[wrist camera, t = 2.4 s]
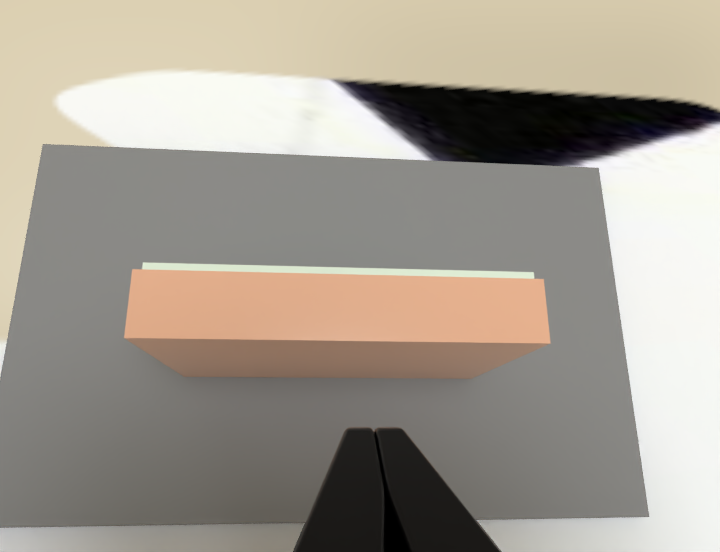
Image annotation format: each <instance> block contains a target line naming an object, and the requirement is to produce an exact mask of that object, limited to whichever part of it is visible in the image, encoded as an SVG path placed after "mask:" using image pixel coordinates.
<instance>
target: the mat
mask: <svg viewBox="0 0 720 552" xmlns="http://www.w3.org/2000/svg"><path fill="white" fill-rule="evenodd" d="M143 262H146V263H186V264H226V265H266V266H306V267H347V268H387V269H427V270H467V271H507V272H534V279H544V286H545V296H546V305H547V314H548V324H549V333H550V343H551V344H548V345H546V346H544V347H542V348H539V349H537V350H535V351H533V352H530V353H528V354H526V355H524V356H521V357H519V358H517V359H515V360H512V361H510V362H508V363H506V364H503V365H501V366H499V367H497V368H495V369H492V370H490V371H488V372H486V373H483V374H481V375H479V376H477V377H474V378H472V379H431V378H286V377H184V376H182V375H180V374H179V373H177V372H176V371H174V370H173V369H171V368H170V367H168V366H167V365H165V364H163V363H162V362H160V361H159V360H157V359H156V358H154V357H153V356H151V355H150V354H148V353H146V352H145V351H143V350H142V349H140V348H139V347H137V346H136V345H134V344H133V343H131V342H129V341H128V340H126V339H125V338H124V334H125V326H126V317H127V309H128V301H129V292H130V284H131V276H132V269H142V265H143ZM348 427H370V428H372V429H373V431H374V430H375V429H376V428H378V427H400V428H402V429H403V430H404V431H405V432H406V433H407V434H408V436H409V437H410V438H411V439H412V441H413V442H414V443H415V444H416V446H417V447H418V448H419V449H420V451H421V452H422V453H423V454H424V456H425V457H426V458H427V459H428V461H429V462H430V463H431V464H432V466H433V467H434V468H435V469H436V471H437V472H438V473H439V474H440V476H441V477H442V478H443V479H444V481H445V482H446V483H447V484H448V486H449V487H450V488H451V489H452V491H453V492H454V493H455V494H456V496H457V497H458V498H459V499H460V501H461V502H462V503H463V504H464V506H465V507H466V508H467V509H468V511H469V512H470V513H471V514H472V516H473V517H474V518H475V519H476V520H489V519H550V518H610V517H649V513H648V506H647V499H646V492H645V485H644V478H643V472H642V465H641V458H640V451H639V444H638V437H637V430H636V423H635V416H634V409H633V403H632V396H631V389H630V382H629V375H628V368H627V361H626V354H625V347H624V341H623V334H622V327H621V320H620V313H619V306H618V299H617V292H616V285H615V278H614V272H613V265H612V258H611V251H610V244H609V237H608V230H607V223H606V216H605V209H604V203H603V196H602V189H601V182H600V175H599V168H588V167H564V166H541V165H518V164H494V163H471V162H448V161H424V160H401V159H378V158H354V157H331V156H308V155H284V154H261V153H238V152H214V151H191V150H168V149H144V148H121V147H98V146H97V147H96V146H74V145H51V144H43V146H42V152H41V157H40V163H39V169H38V174H37V179H36V185H35V191H34V196H33V201H32V207H31V212H30V218H29V223H28V229H27V234H26V240H25V246H24V251H23V257H22V262H21V268H20V273H19V279H18V284H17V290H16V295H15V301H14V306H13V311H12V317H11V323H10V328H9V333H8V339H7V344H6V350H5V355H4V361H3V366H2V372H1V377H0V528H5V527H66V526H126V525H187V524H247V523H305V522H306V520H307V518H308V515H309V513H310V511H311V508H312V506H313V504H314V501H315V499H316V497H317V494H318V492H319V489H320V487H321V485H322V482H323V480H324V478H325V475H326V473H327V471H328V468H329V466H330V464H331V461H332V459H333V457H334V454H335V452H336V449H337V447H338V445H339V442H340V440H341V438H342V435H343V433H344V431H345V430H346V429H347V428H348Z"/></svg>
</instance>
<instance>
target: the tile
mask: <svg viewBox="0 0 720 552" xmlns="http://www.w3.org/2000/svg"><path fill="white" fill-rule="evenodd" d="M124 338H125V339H126V340H128V341H129V342H131V343H133V344H134V345H136V346H137V347H139V348H140V349H142V350H143V351H145V352H146V353H148V354H150V355H151V356H153V357H154V358H156V359H157V360H159V361H160V362H162V363H163V364H165V365H167V366H168V367H170V368H171V369H173V370H174V371H176V372H177V373H179V374H180V375H182V376H184V377H286V378H431V379H472V378H474V377H477V376H479V375H481V374H483V373H486V372H488V371H490V370H492V369H495V368H497V367H499V366H501V365H503V364H506V363H508V362H510V361H512V360H515V359H517V358H519V357H521V356H524V355H526V354H528V353H530V352H533V351H535V350H537V349H539V348H542V347H544V346H546V345H548V344H551V343H550V333H549V324H548V314H547V305H546V296H545V286H544V279H534V272H507V271H467V270H427V269H387V268H347V267H306V266H266V265H226V264H186V263H146V262H143V265H142V269H132V276H131V284H130V292H129V301H128V309H127V317H126V326H125V334H124Z"/></svg>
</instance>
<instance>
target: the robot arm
mask: <svg viewBox="0 0 720 552" xmlns="http://www.w3.org/2000/svg"><path fill="white" fill-rule="evenodd" d="M293 552H501V550H500V549H499V548H498V547H497V545H496V544H495V543H494V542H493V540H492V539H491V538H490V537H489V535H488V534H487V533H486V532H485V530H484V529H483V528H482V527H481V526H480V524H479V523H478V522H477V521H476V519H475V518H474V517H473V516H472V514H471V513H470V512H469V511H468V509H467V508H466V507H465V506H464V504H463V503H462V502H461V501H460V499H459V498H458V497H457V496H456V494H455V493H454V492H453V491H452V489H451V488H450V487H449V486H448V484H447V483H446V482H445V481H444V479H443V478H442V477H441V476H440V474H439V473H438V472H437V471H436V469H435V468H434V467H433V466H432V464H431V463H430V462H429V461H428V459H427V458H426V457H425V456H424V454H423V453H422V452H421V451H420V449H419V448H418V447H417V446H416V444H415V443H414V442H413V441H412V439H411V438H410V437H409V436H408V434H407V433H406V432H405V431H404V430H403V429H402V428H400V427H378V428H376V429H375V430H374V431H373V429H372V428H370V427H348V428H347V429H346V430H345V431H344V433H343V435H342V438H341V440H340V442H339V445H338V447H337V449H336V452H335V454H334V457H333V459H332V461H331V464H330V466H329V468H328V471H327V473H326V475H325V478H324V480H323V482H322V485H321V487H320V489H319V492H318V494H317V497H316V499H315V501H314V504H313V506H312V508H311V511H310V513H309V515H308V518H307V520H306V522H305V525H304V527H303V529H302V532H301V534H300V536H299V539H298V541H297V544H296V546H295V548H294V551H293Z"/></svg>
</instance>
